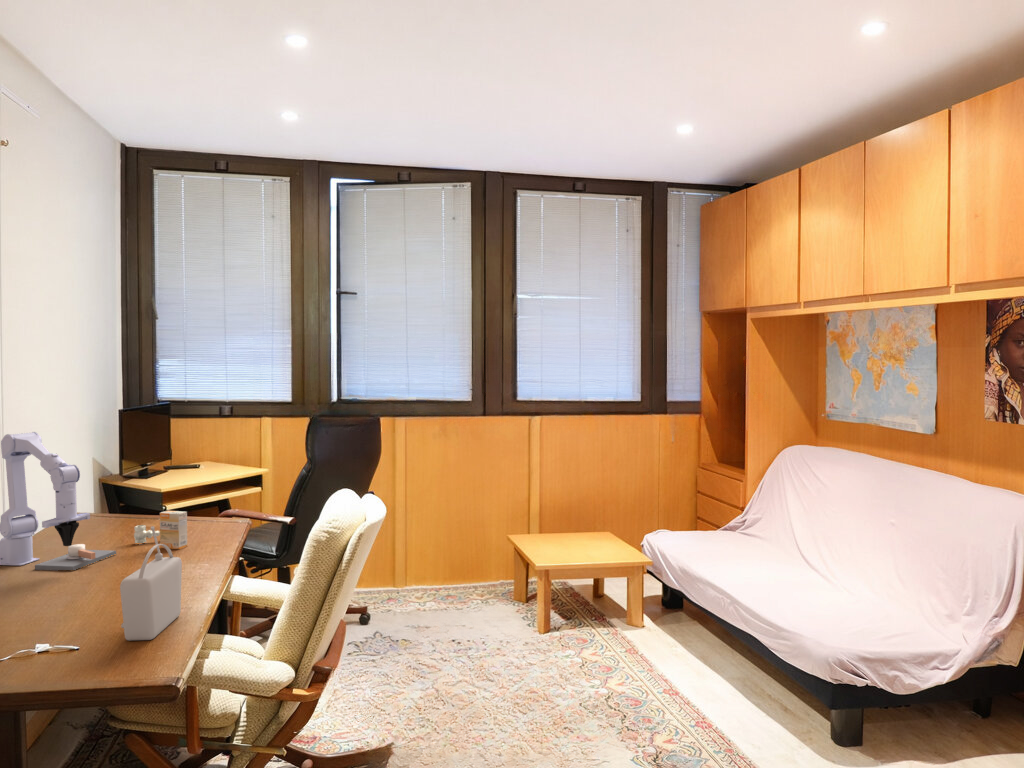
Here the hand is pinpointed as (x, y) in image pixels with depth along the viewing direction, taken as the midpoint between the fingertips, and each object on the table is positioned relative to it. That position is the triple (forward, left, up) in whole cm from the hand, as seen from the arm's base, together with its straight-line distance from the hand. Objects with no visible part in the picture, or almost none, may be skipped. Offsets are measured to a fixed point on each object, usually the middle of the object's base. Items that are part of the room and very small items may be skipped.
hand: (67, 545), depth 235 cm
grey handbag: (+60, -43, -9) cm, 74 cm away
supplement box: (+15, +33, -9) cm, 37 cm away
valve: (+2, +39, -9) cm, 40 cm away
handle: (-2, +9, -6) cm, 11 cm away
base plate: (-6, +11, -8) cm, 15 cm away
